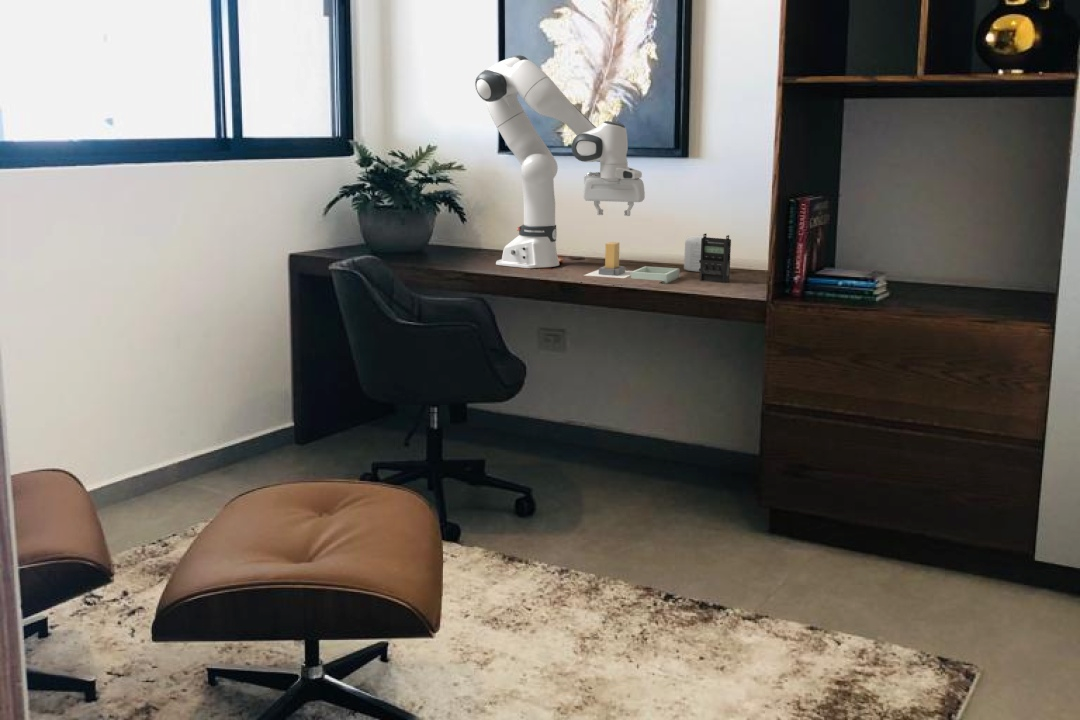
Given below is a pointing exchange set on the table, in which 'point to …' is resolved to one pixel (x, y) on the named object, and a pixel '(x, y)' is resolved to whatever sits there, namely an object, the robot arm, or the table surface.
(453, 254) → the table surface
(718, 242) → the geiger counter
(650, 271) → the parts tray
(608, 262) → the block
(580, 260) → the table surface
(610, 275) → the panel
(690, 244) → the photo printer
